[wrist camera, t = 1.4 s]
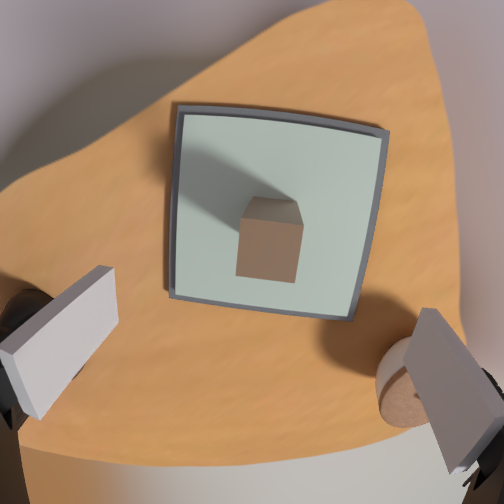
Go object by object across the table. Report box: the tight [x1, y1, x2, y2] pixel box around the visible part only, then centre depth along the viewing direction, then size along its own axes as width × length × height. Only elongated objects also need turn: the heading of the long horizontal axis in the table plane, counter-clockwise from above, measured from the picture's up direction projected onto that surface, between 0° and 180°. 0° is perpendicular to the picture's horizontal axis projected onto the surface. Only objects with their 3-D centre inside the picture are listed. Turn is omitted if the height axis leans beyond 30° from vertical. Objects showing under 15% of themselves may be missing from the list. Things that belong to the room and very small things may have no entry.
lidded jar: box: [375, 336, 429, 428], centre depth 30 cm, size 11×11×9 cm
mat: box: [169, 105, 390, 321], centre depth 30 cm, size 20×20×1 cm
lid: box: [175, 115, 382, 316], centre depth 25 cm, size 18×18×10 cm
